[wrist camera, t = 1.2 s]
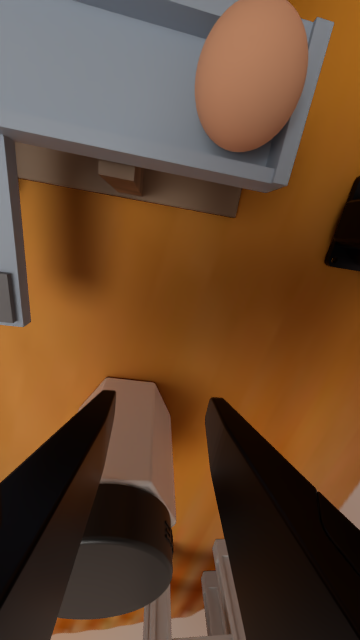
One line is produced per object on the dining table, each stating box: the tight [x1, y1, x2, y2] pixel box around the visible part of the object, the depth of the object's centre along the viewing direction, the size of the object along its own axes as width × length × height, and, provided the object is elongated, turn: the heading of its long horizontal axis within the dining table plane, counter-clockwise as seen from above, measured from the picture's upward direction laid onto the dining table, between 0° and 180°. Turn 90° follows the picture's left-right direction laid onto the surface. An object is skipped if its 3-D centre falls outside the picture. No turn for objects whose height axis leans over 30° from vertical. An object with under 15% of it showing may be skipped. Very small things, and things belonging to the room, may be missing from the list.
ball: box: [195, 0, 308, 152], centre depth 7 cm, size 3×3×3 cm
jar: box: [58, 378, 176, 619], centre depth 17 cm, size 9×8×12 cm
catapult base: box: [15, 142, 242, 218], centre depth 12 cm, size 15×6×6 cm, turn 81°
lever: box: [0, 0, 334, 327], centre depth 9 cm, size 14×13×2 cm
